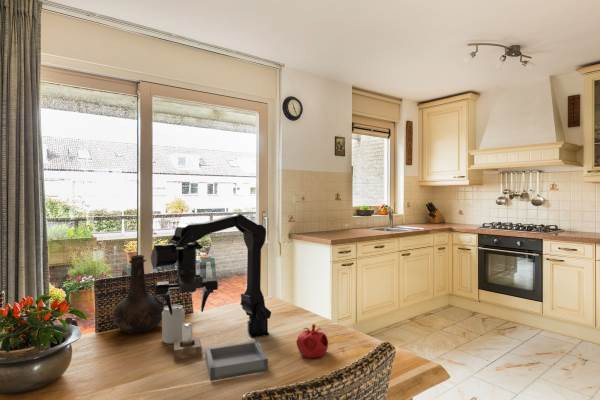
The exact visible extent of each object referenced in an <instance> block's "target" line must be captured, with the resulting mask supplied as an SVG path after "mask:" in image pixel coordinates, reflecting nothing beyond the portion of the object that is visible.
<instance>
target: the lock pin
mask: <svg viewBox="0 0 600 400" xmlns="http://www.w3.org/2000/svg"><path fill="white" fill-rule="evenodd" d="M193 330H194V329H193V323H192V322H185V323H184V324H182V347H185V346H192V345H193V338H194V337H193Z"/></svg>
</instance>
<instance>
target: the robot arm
mask: <svg viewBox="0 0 600 400" xmlns="http://www.w3.org/2000/svg"><path fill="white" fill-rule="evenodd" d="M230 228H231V229H232V228H235V229H237V230H238V231H239V232H240V233H242V234H243V241H244V244H245V246H246V248H247V249H246V250H247V256H246V257H247V259H246V260H247V261H246V263H247V265H246V268H247V269H246V290H245V292H244V293H240V304H239V305H240V306H241V309H242V310H243V311H244V312H245V315H246V316H248V320H247V333H248V335H249V336H250V338H258V337H260V338H261V337H267V336H269V335H270V332H269V325H268V324H269V323H268V322H269V321H268V319H271V317H272V311H271V310H270V309H268V307H266V302H265V298H264V294H263V291H262V290H261V282H262V281H261V278H262V276H261V275H262V273H261V271H262V269H261V268H262V266H261V265H262V248H263V247H264V244H265V242H266V237H267V230H266V227H265V226H263V225H262V224H257V223H256V222H255V221H253V220H250V219H248V218H247V217H246V216H244V215H243V214H241V213H232V214H231V215H228V216H225V217H220V218H216V219H212V220H208V221H204V222H193V223H181V224H179V225H177V226H176V228H175V230H174V234H173V235H172V237H171V238H170V240H169V241H168V243H167V244H157V243H156V244H154V245H153V248H152V251H151V254H150V262H151V266H152V267H153V268H154V269H155V268H163V267H165V268H166V267H171V266H174V265H175V264H176V265H177V266H176V267H177V268H176V269H177V272H176V273H177V275H176V278H177V280H176V281H177V282H176V283H169V280H166V281H157V282H156V283H155V284H154V296H158V297H160V298H163V299H164V301H165V303H166V306H168V308H169V311H170V314H171V315H172V305H173V304H172V298H171V291H176V290H177V291H179V293H181V294H184V293H196V291H197V289H201V288H202V292H201V293H202V294H201V304H200V312H201V313H203V311H204V309H205V306H206V303H207V300H208V298H209V295H210V294H211V293H214V291H218V289H219V285H218V284H219V282H218V281H217V279H216V278H215V277H211V278H210V277H208V278H203V274H197V250H200V249H201V250H203V246H202V245H201V244H200V243H199V241H200V240H201V239H203V238H204V237H205V236H207V235H210V234H213V233H216V232H220V231H224V230H228V229H230Z"/></svg>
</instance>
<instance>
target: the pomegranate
mask: <svg viewBox="0 0 600 400" xmlns="http://www.w3.org/2000/svg"><path fill="white" fill-rule="evenodd" d="M316 327H317V326H316V324H314V323H313V324H312V325H311V330H310V329H309V328H308V327H304V328H303V331H302V332H301V333H300V334H299V335H298V336H297V339H296V343H295V344H296V346H297V347H296V348H297V349H298V351H299V353H300V354H301V355H302V356H303V357H304V358H308V359H316V358H320V357H323V356H324V355H326V353H327V351H328V348H329V339H328V336H327V335H326V334H325V333H324V332H322V331H319V330H321V328H320V327H319V328H316Z"/></svg>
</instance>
